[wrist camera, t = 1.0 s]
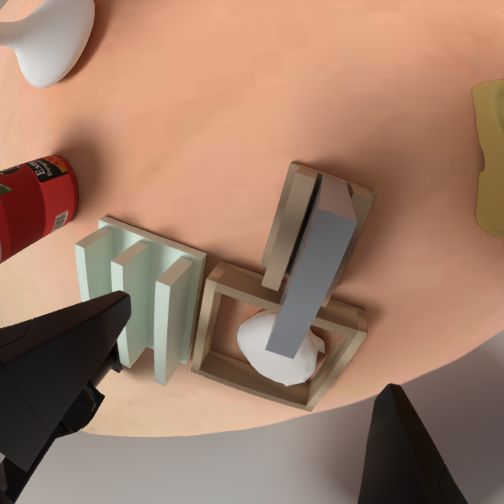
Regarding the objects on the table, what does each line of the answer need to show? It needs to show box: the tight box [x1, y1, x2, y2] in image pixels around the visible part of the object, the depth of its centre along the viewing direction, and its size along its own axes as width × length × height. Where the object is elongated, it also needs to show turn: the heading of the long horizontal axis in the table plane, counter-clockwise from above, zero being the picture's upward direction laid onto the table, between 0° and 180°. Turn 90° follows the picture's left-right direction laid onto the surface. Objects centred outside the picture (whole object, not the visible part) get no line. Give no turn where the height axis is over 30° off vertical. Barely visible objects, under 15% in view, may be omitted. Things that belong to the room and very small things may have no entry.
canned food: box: [0, 156, 78, 264], centre depth 20 cm, size 8×8×11 cm
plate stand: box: [260, 162, 376, 307], centre depth 19 cm, size 8×6×3 cm
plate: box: [265, 174, 357, 359], centre depth 16 cm, size 8×2×8 cm, turn 166°
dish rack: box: [75, 216, 207, 386], centre depth 25 cm, size 14×11×5 cm
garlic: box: [237, 310, 325, 386], centre depth 24 cm, size 8×7×4 cm
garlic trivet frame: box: [191, 260, 368, 412], centre depth 24 cm, size 12×13×3 cm
